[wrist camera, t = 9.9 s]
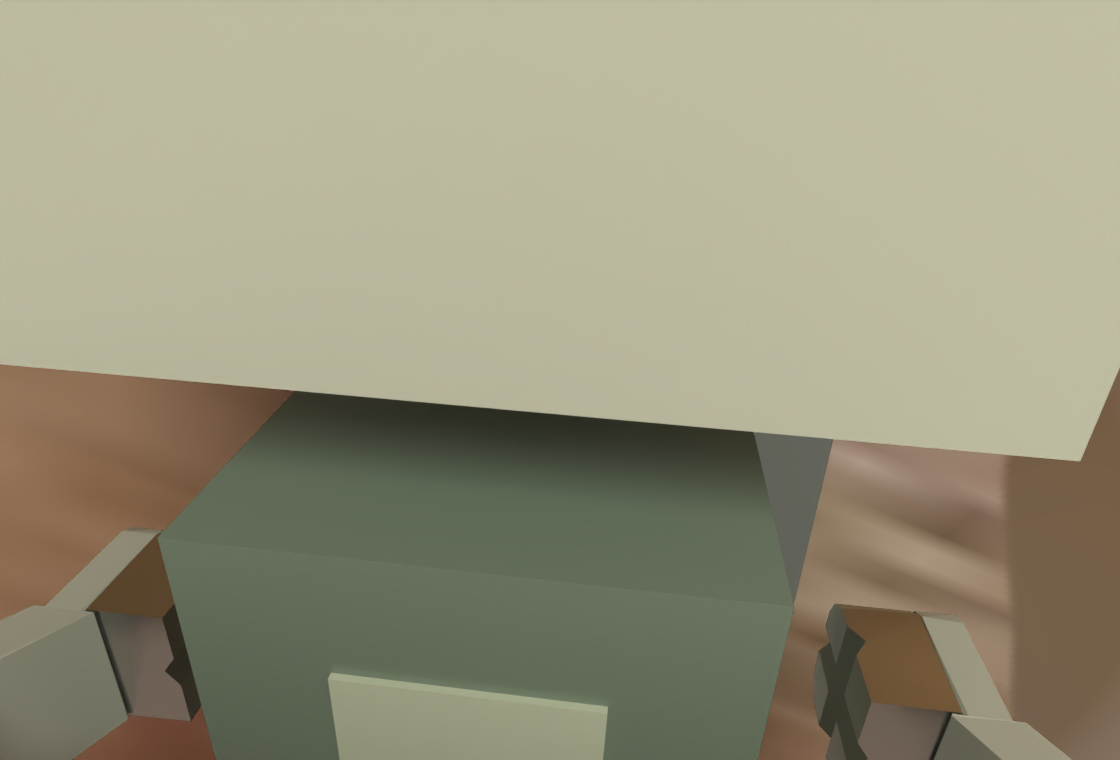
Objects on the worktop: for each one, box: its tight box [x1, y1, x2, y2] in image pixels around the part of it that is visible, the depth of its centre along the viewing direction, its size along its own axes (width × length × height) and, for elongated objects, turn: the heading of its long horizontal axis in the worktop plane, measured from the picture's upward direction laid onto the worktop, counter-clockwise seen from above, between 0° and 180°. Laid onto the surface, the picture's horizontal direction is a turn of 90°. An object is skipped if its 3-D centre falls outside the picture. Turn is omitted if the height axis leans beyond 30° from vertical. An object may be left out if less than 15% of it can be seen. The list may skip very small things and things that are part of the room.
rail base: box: [0, 0, 1120, 604], centre depth 11 cm, size 24×10×9 cm, turn 178°
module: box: [158, 391, 794, 760], centre depth 11 cm, size 7×5×8 cm
